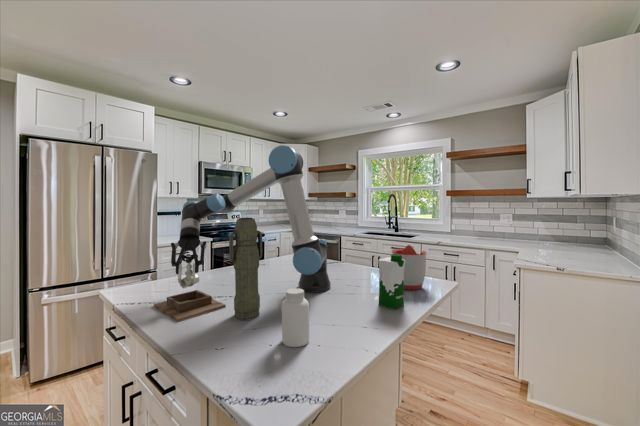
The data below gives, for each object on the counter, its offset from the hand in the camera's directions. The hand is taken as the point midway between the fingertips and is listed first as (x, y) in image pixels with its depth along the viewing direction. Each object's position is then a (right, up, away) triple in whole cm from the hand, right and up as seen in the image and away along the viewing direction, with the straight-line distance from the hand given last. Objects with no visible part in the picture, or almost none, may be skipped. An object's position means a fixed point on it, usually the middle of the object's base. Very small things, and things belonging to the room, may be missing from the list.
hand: (186, 280), depth 109 cm
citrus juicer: (+93, -10, +30) cm, 98 cm away
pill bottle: (+43, -13, -24) cm, 51 cm away
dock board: (-1, -11, +4) cm, 12 cm away
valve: (-1, -3, +4) cm, 5 cm away
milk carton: (+78, -11, +5) cm, 79 cm away
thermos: (+24, -12, -4) cm, 27 cm away
